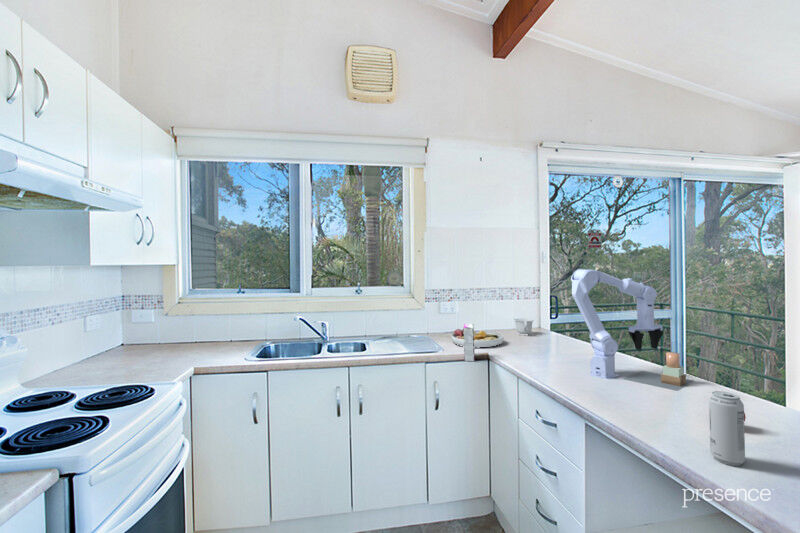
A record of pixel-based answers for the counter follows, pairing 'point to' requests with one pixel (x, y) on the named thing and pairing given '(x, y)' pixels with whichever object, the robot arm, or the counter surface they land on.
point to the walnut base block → (673, 380)
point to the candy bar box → (469, 342)
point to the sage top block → (673, 371)
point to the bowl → (478, 338)
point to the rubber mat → (654, 380)
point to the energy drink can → (727, 428)
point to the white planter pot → (523, 325)
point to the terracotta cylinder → (672, 360)
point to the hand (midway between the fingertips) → (646, 348)
